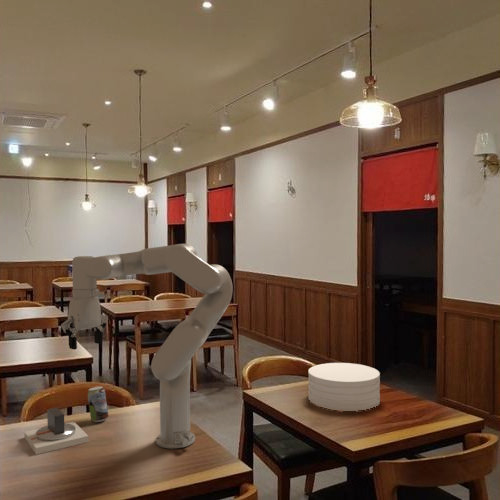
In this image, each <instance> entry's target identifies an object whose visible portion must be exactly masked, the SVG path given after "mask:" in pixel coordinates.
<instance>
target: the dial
mask: <svg viewBox="0 0 500 500" xmlns="http://www.w3.org/2000/svg"><path fill="white" fill-rule="evenodd" d="M46 411H47V413H46V414H47V425H45V426H43V427H41V428H38V429H39V430H37V432H36V437H37V438H38V439H40V440H46V441H52V440H59V439H64V438H67V437H69V436H71V435H73V434H74V433H75V426H74V425H72V424H66V423H67V422H65V414H64V413H63V412H62V411H61V410H60V409H59V408H58V407H53V408H49V409H46Z"/></svg>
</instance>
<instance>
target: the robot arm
mask: <svg viewBox="0 0 500 500" xmlns="http://www.w3.org/2000/svg"><path fill="white" fill-rule="evenodd" d="M71 261H72V262H71V265H72V266H71V267H72V274H71V275H72V298H70V301H69V305H68V314H67V319H66V320H65V321H63V323H61V325H60V327H61V329H62V330H63V333H64V335H65V334H66V336H67V337H68V347H69V349H71V350H77V349H78V345H77V344H78V343H77V342H78V341H77V340H78V338H77V336H76V335H77V333H78V332H79V331H83V330H89V329H94V330H95V331H93V332H94V335H93V336H94V337H93V338H94V340H93V341H94V343H95V344H99V345H101V344H102V345H103V332H104V331H105V328H106V326H107V323H108V320H109V317H108V316H105V314H102V310H101V303H100V299H99V297H98V294H99V293H100V289H99V288H98V286H97V284H98V283H97V281H98V280H108V279H113V278H119V277H124V276H132V275H147V276H148V275H149V276H151V275H159V274H165V273H166V274H167V273H173V274H174V275H175V276H177V277H178V278H179V279H181V280H182V281H184V282H185V283H186V284H188V285H189V286H190V287H192V288H193V289H194V290H196V291H197V292H200V293H201V294H204V295H203V296H202V297H201V299H200V300H199V302H198V303H197V305H196V306H195V308H194V309H193V310H192V311H191V313H190V314H189V315H188V317H186V319H184V320H183V321H181V322H179V324H177V325H176V326H175V328H173V330H172V331H171V332H170V334H169V335H168V337H166V339H165V341H164V342H163V343H162V345H161V346H160V347H159V349H158V350H157V352H156V353H155V354H154V356H153V357H152V360H151V365H150V366H151V367H150V370H151V372H152V374H153V376H154V377H155V378H156V379H157V380H159V414H160V415H159V417H160V418H159V419H160V421H159V423H160V424H159V425H160V426H159V427H160V430H159V431H160V433H159V434H158V435H157V436H156V437H155V444H156V445H157V446H158V447H160V448H164V449H173V450H174V449H175V450H176V449H182V448H185V447H188V446H191V445H192V444H194V443H195V441H196V435H195V434H194V433H193V432H191V397H190V396H191V390H190V388H191V368H192V367H191V366H192V358H193V357H194V356H195V354H196V352H198V350H199V349H200V348H201V347H202V346H203V344H204V343H205V342H206V341H207V339H208V337H209V335H210V334H211V332H212V331H213V329H214V328H215V326H216V325H217V324H218V322H219V321H220V320H221V318H222V317H223V315H224V314H225V313H226V310H227V309H228V307H229V305H230V303H231V301H232V298H233V290H234V289H233V288H234V286H233V282H232V278H231V276H230V273H229V272H228V270H227V269H226V268H225V267H223V266H222V265H219V264H214V263H213V264H209V263H208V262H206V261H204V260H202V258H200V257H199V256H198V253H197V251H196V249H195V247H194V246H192V244H189V243H177V244H171V245H170V244H169V245H163V246H158V247H157V246H155V247H148V248H147V247H146V248H143V249H142V250H138V251H133V252H126V253H119V254H109V255H102V256H93V255H92V256H89V255H83V256H82V255H81V256H79V255H78V256H75V257H73V258H72V260H71Z"/></svg>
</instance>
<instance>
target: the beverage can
mask: <svg viewBox="0 0 500 500" xmlns="http://www.w3.org/2000/svg"><path fill="white" fill-rule="evenodd" d="M106 397H107V396H106V390H105V388H104V387H103V386H101V385H100V386H95V387H91V388H89V389H88V392H87V400H88V407H89V414H90V420H91V421H92V422H94V423H100V422H103V421H106V420H107V418H109V411H108V404H107V398H106Z"/></svg>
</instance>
